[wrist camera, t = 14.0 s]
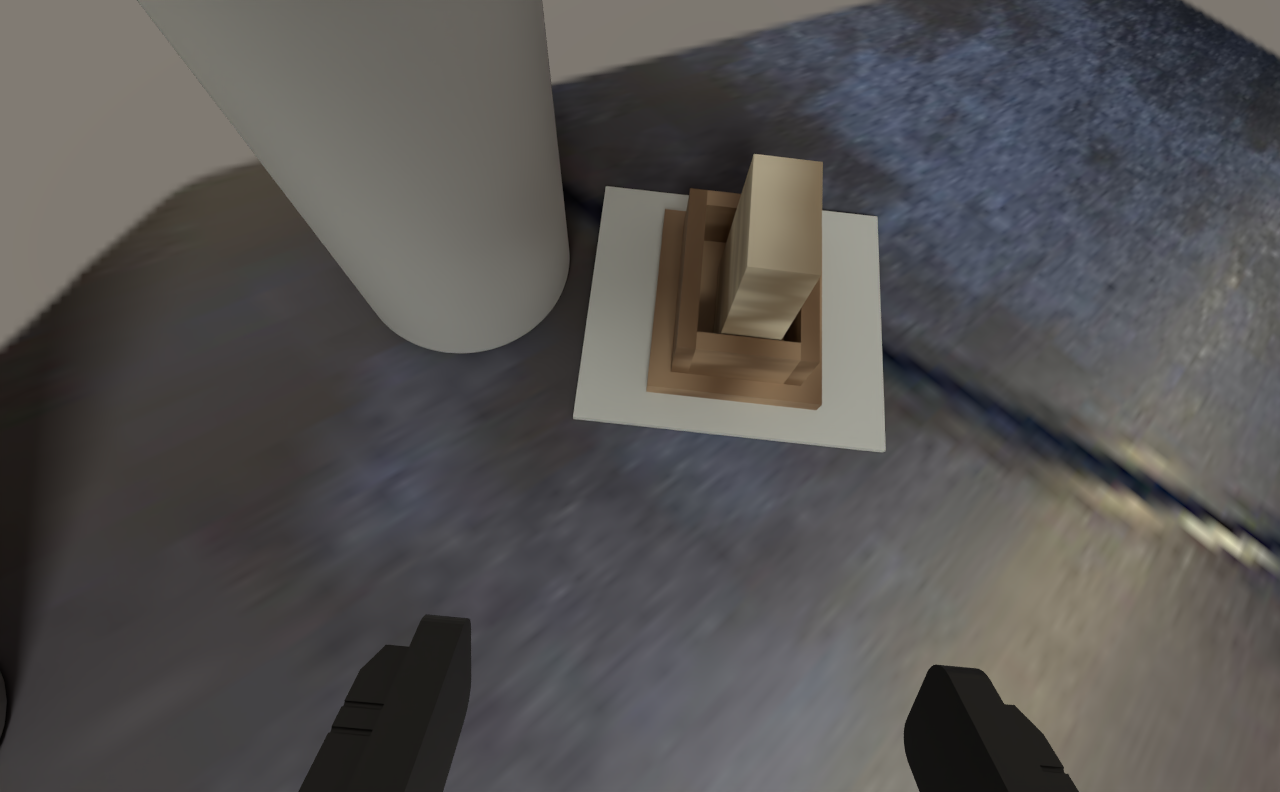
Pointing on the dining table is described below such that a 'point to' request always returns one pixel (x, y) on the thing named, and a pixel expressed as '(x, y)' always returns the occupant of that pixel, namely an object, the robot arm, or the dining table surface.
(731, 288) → the beech block
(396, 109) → the cylinder vase
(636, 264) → the mat
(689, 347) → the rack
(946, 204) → the dining table surface
